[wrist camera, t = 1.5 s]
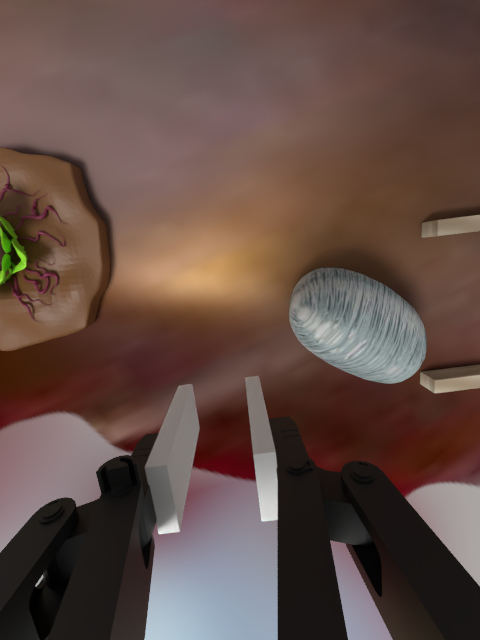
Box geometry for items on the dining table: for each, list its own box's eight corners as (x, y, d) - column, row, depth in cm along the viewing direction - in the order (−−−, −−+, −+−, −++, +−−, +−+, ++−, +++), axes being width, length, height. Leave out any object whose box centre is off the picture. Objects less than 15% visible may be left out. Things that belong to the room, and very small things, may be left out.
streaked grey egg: (448, 313, 30) (467, 368, 22) (378, 368, 35) (373, 428, 27) (337, 232, 31) (315, 256, 23) (287, 297, 37) (255, 335, 29)
